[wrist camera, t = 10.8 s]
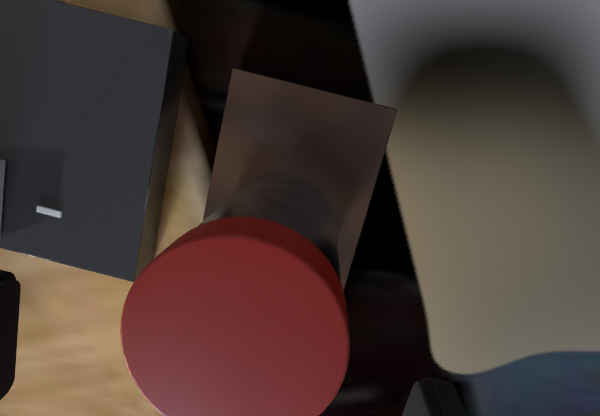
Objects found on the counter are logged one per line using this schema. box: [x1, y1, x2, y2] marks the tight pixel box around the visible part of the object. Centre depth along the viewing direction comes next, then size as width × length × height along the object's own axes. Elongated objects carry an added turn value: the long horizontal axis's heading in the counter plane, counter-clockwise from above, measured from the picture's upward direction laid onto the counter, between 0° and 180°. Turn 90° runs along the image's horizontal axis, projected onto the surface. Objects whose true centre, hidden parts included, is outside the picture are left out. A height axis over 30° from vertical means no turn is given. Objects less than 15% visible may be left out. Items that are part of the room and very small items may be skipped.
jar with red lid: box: [120, 174, 350, 416], centre depth 17 cm, size 7×7×12 cm
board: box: [203, 68, 397, 291], centre depth 24 cm, size 16×9×2 cm, turn 166°
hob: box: [0, 0, 189, 282], centre depth 23 cm, size 15×13×3 cm
